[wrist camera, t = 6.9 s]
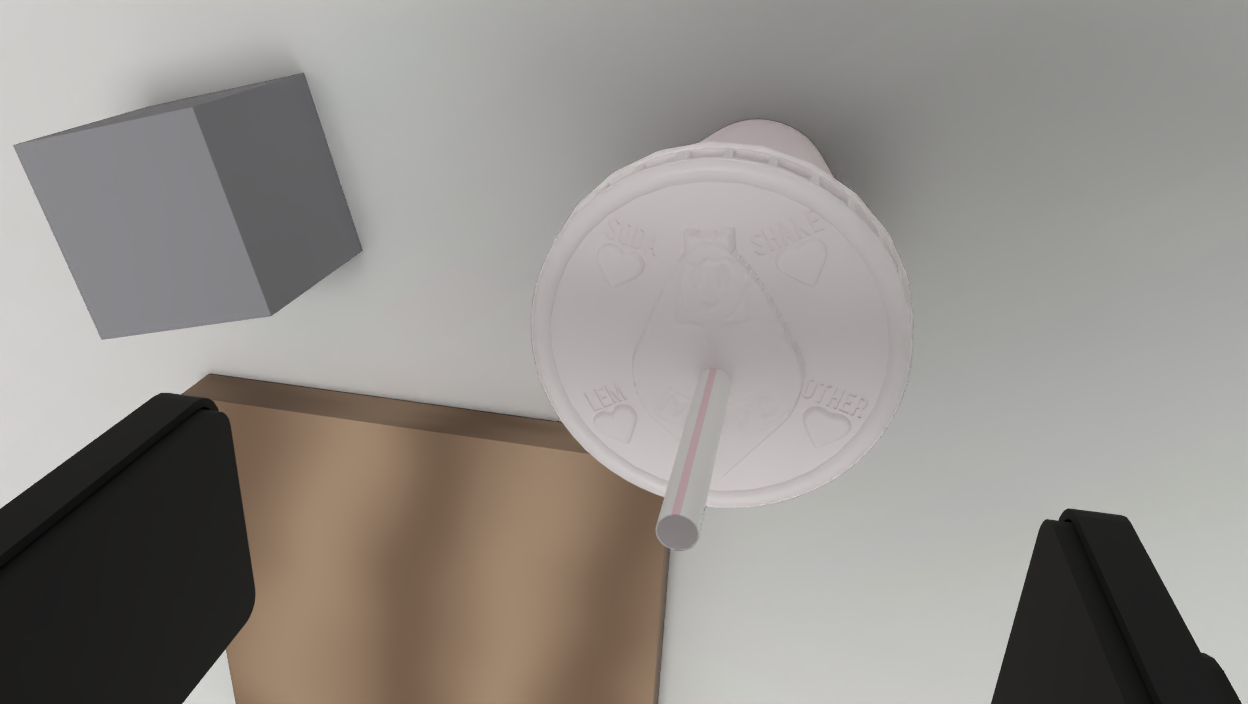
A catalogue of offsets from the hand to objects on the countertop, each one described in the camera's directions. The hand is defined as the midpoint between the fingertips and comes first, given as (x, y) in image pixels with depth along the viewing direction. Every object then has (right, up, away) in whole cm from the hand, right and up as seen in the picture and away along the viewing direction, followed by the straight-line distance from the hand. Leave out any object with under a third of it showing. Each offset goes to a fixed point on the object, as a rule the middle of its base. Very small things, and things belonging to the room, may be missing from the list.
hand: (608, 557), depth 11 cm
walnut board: (-6, -6, +21) cm, 23 cm away
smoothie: (+4, +7, +13) cm, 15 cm away
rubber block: (-10, +7, +16) cm, 20 cm away
